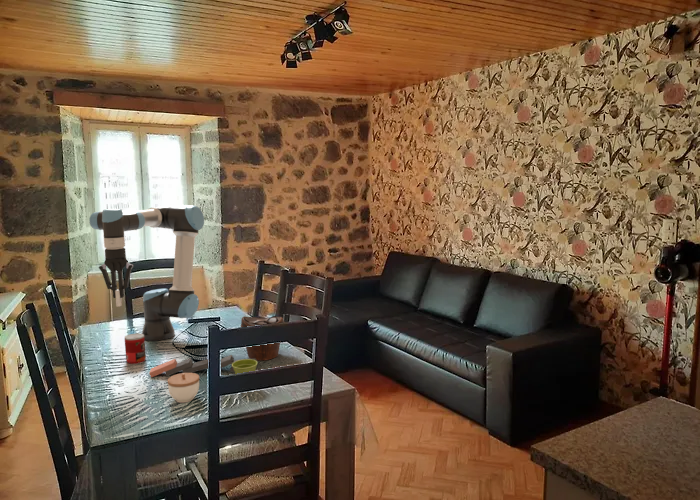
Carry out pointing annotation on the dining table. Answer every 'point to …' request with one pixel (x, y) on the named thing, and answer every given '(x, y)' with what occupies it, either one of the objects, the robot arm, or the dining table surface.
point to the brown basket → (263, 350)
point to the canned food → (135, 348)
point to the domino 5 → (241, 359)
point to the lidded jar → (183, 386)
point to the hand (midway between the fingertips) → (119, 305)
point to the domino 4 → (226, 361)
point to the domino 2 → (180, 366)
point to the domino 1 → (163, 368)
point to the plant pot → (244, 365)
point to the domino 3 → (197, 366)
